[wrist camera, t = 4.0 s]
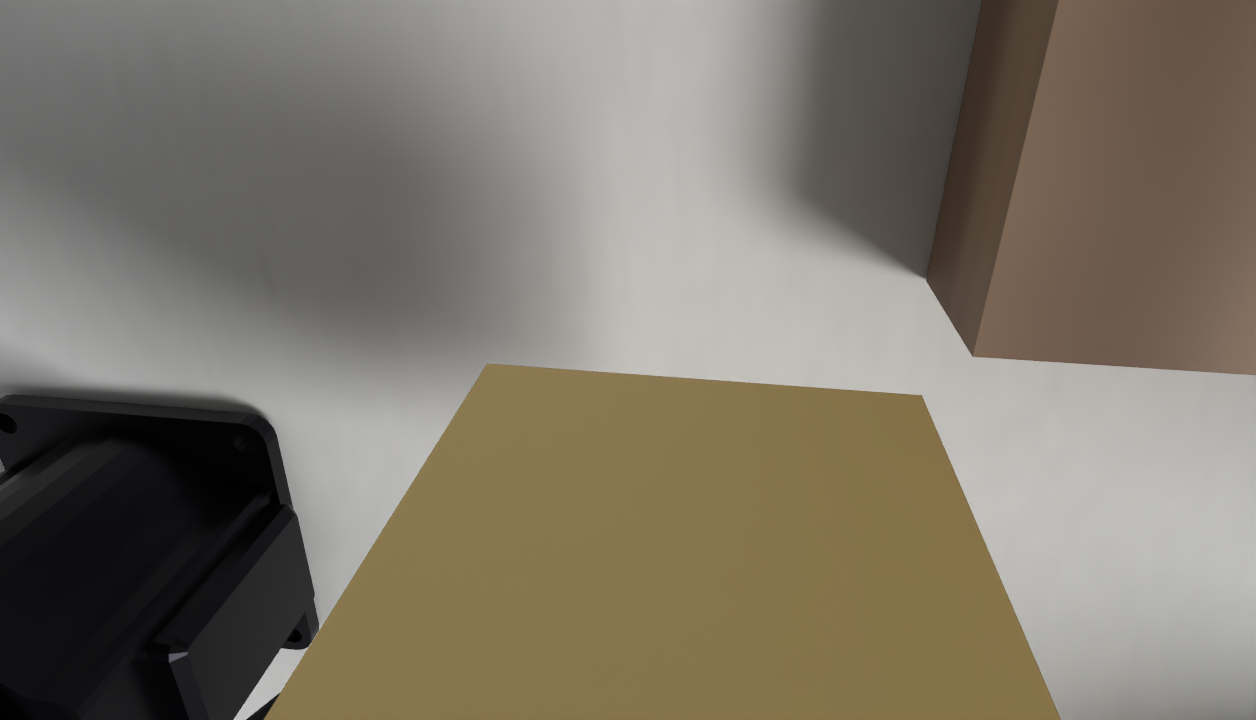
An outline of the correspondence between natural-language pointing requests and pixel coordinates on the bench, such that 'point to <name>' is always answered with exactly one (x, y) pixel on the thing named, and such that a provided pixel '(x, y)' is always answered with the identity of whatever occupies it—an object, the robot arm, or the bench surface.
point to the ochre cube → (675, 566)
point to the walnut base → (1105, 186)
